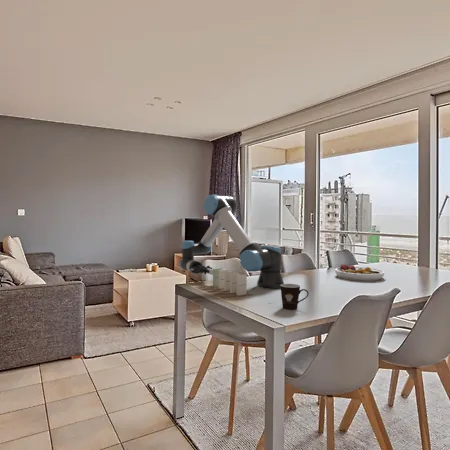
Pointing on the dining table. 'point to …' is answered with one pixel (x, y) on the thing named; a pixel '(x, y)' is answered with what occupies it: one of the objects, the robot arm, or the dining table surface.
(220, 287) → the domino
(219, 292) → the board
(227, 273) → the domino
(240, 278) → the domino
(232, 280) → the domino
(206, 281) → the dining table surface
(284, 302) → the coffee mug
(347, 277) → the bowl
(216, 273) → the domino
